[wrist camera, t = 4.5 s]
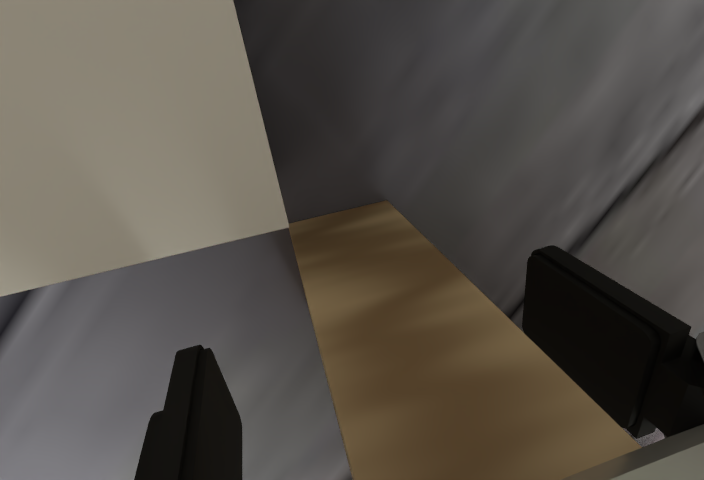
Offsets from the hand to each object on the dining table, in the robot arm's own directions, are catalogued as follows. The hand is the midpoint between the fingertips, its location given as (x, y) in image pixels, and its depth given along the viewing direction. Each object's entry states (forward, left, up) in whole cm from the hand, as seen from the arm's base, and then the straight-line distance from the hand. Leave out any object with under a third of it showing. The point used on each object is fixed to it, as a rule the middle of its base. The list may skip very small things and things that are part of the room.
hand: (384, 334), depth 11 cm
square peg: (0, 0, -5) cm, 5 cm away
